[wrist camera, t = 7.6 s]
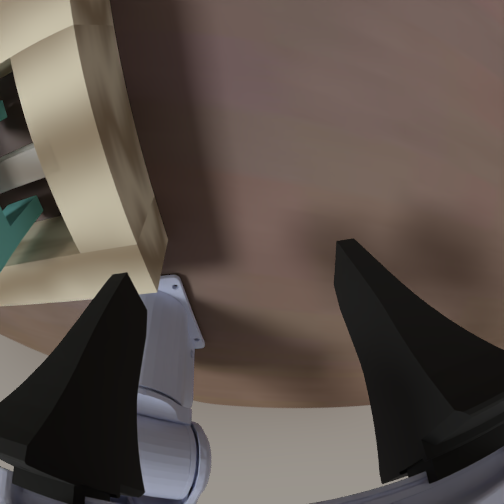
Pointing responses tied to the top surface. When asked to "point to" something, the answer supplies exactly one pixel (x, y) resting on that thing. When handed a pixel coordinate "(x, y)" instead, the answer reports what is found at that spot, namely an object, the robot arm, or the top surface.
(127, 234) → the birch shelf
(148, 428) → the robot arm
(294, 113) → the top surface
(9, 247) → the teal block
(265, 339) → the top surface
